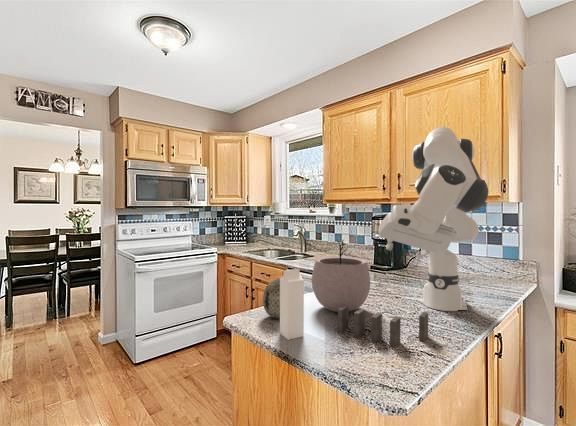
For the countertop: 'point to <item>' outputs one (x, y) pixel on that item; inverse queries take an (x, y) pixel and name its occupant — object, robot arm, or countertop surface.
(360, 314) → the domino
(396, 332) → the domino
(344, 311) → the domino
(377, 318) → the domino
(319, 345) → the countertop surface
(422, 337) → the domino
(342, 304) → the plant pot
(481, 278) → the countertop surface
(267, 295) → the decorative egg
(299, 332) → the milk
